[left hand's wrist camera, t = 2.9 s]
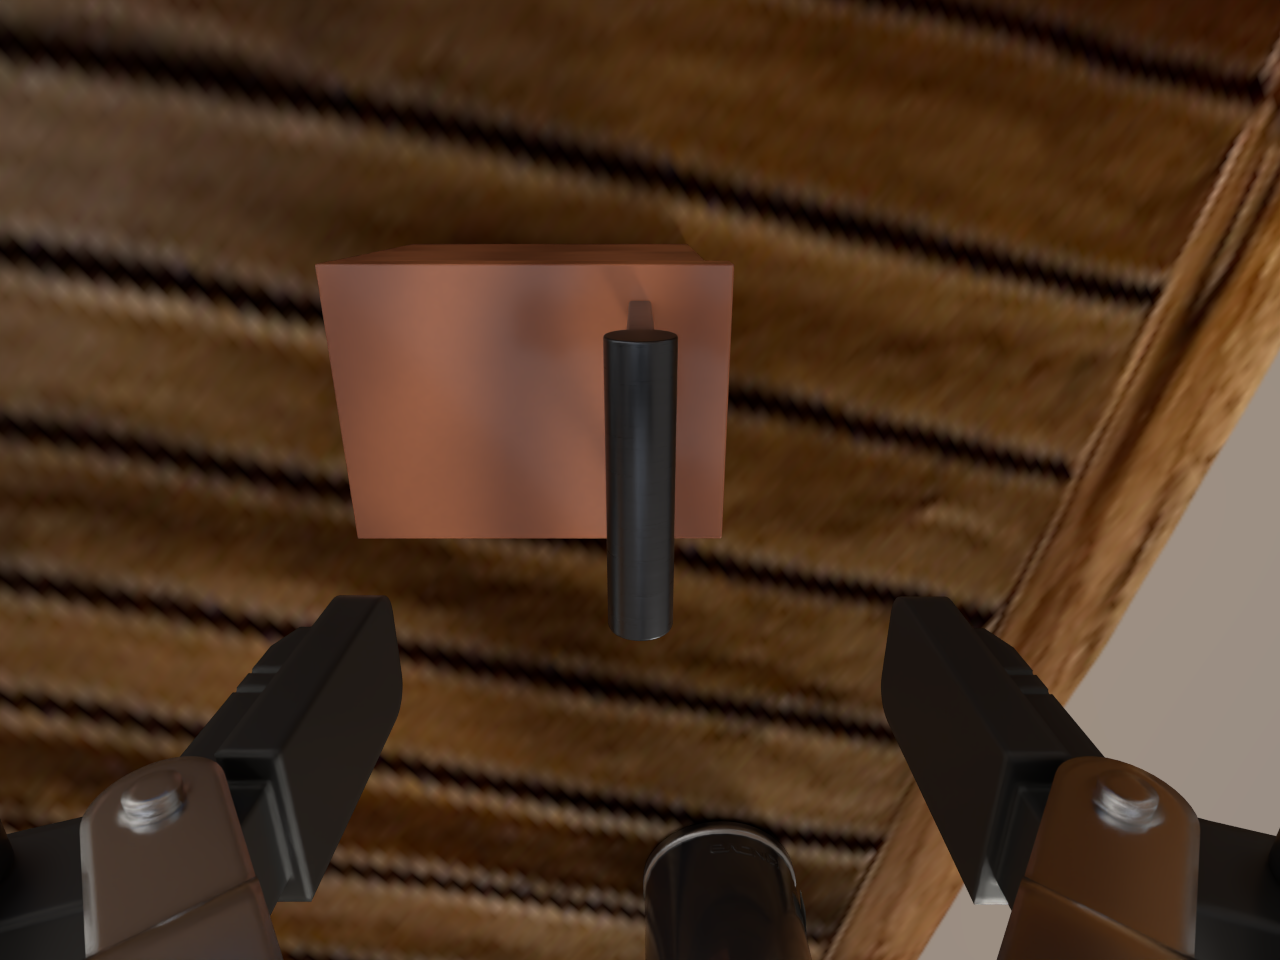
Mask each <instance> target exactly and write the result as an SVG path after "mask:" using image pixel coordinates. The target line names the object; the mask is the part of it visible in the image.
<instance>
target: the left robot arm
mask: <svg viewBox="0 0 1280 960" xmlns="http://www.w3.org/2000/svg"><path fill="white" fill-rule="evenodd" d="M1032 671H1033V670H1032V669H1031V668H1030V667H1029V666H1028V664H1027V663H1026V662H1025V661H1024V660H1023V658H1022V657H1021V656H1020V655H1019V654H1018V652H1017V651H1016V650H1015V649H1014V648H1013V647H1012V646H1010V645H1009V644H1007V643H1006V642H1004V641H1003V640H1001V639H1000V638H998V637H997V636H995V635H994V634H992V633H991V632H989V631H987V630H986V629H984V628H972V627H971V625H970V624H969V623H968V621H967V620H966V619H965V618H964V616H963V615H962V614H961V612H960V611H959V610H958V608H957V607H956V606H955V605H954V603H953V602H952V601H951V600H950V599H949V598H948V597H898V598H896V600H895V601H894V603H893V606H892V610H891V617H890V623H889V630H888V637H887V644H886V651H885V658H884V664H883V671H882V679H881V695H882V703H883V708H884V713H885V716H886V719H887V721H888V723H889V725H890V727H891V730H892V732H893V734H894V736H895V738H896V740H897V742H898V744H899V746H900V749H901V751H902V753H903V755H904V757H905V759H906V761H907V763H908V765H909V768H910V770H911V772H912V774H913V776H914V778H915V780H916V782H917V785H918V787H919V789H920V791H921V793H922V795H923V797H924V799H925V801H926V804H927V806H928V808H929V810H930V812H931V814H932V816H933V818H934V820H935V823H936V825H937V827H938V829H939V831H940V833H941V835H942V837H943V840H944V842H945V844H946V846H947V848H948V850H949V852H950V854H951V856H952V859H953V861H954V863H955V865H956V867H957V869H958V871H959V873H960V875H961V878H962V880H963V882H964V884H965V886H966V888H967V890H968V892H969V894H970V897H971V899H972V901H973V903H974V904H1008V905H1009V907H1010V908H1011V910H1012V912H1011V915H1010V918H1009V922H1008V925H1007V928H1006V931H1005V935H1004V938H1003V941H1002V944H1001V948H1000V951H999V954H998V957H997V960H1280V829H1279V831H1278V834H1277V836H1273V835H1269V834H1265V833H1260V832H1256V831H1251V830H1247V829H1243V828H1238V827H1234V826H1229V825H1225V824H1221V823H1217V822H1212V821H1208V820H1204V819H1201V818H1197V815H1196V814H1195V812H1194V810H1193V809H1192V807H1191V806H1190V805H1189V803H1188V802H1187V801H1186V800H1185V799H1184V798H1183V797H1182V796H1181V795H1180V794H1179V793H1178V792H1177V791H1176V790H1174V789H1173V788H1172V787H1171V786H1169V785H1168V784H1167V783H1165V782H1164V781H1162V780H1160V779H1159V778H1157V777H1156V776H1154V775H1152V774H1150V773H1148V772H1146V771H1144V770H1142V769H1140V768H1138V767H1135V766H1133V765H1130V764H1127V763H1124V762H1121V761H1118V760H1114V759H1110V758H1105V757H1104V756H1103V755H1102V754H1101V752H1100V751H1099V750H1098V749H1097V748H1096V746H1095V745H1094V744H1093V743H1092V741H1091V740H1090V739H1089V738H1088V737H1087V735H1086V734H1085V733H1084V732H1083V731H1082V729H1081V728H1080V727H1079V726H1078V725H1077V723H1076V722H1075V721H1074V720H1073V719H1072V717H1071V716H1070V715H1069V714H1068V713H1067V711H1066V710H1065V709H1064V708H1063V707H1062V705H1061V704H1060V703H1059V702H1058V701H1057V699H1056V698H1055V697H1054V696H1053V695H1052V694H1049V693H1048V688H1047V687H1046V686H1045V685H1044V684H1043V682H1042V681H1041V680H1040V679H1039V678H1038V676H1037V675H1033V673H1032ZM401 699H402V673H401V666H400V659H399V652H398V645H397V638H396V631H395V624H394V617H393V610H392V606H391V602H390V600H389V599H388V597H387V596H380V595H379V596H378V595H377V596H375V595H374V596H373V595H339V596H336V597H335V598H334V599H333V600H332V601H331V602H330V604H329V605H328V606H327V608H326V609H325V610H324V611H323V613H322V614H321V615H320V617H319V618H318V619H317V621H316V622H315V623H314V625H313V626H312V627H299V628H298V629H296V630H295V631H293V632H292V633H290V634H289V635H287V636H286V637H284V638H283V639H281V640H280V641H278V642H277V643H275V644H274V645H272V646H271V647H270V648H269V649H268V650H267V652H266V653H265V654H264V655H263V656H262V658H261V659H260V660H259V661H258V663H257V664H256V665H255V666H254V667H253V669H252V673H248V675H247V676H246V677H245V678H244V680H243V681H242V682H241V683H240V684H239V686H238V687H237V692H236V693H232V694H231V695H230V697H229V698H228V699H227V700H226V701H225V703H224V704H223V705H222V706H221V708H220V709H219V710H218V711H217V712H216V714H215V715H214V716H213V717H212V718H211V720H210V721H209V722H208V723H207V725H206V726H205V727H204V728H203V729H202V731H201V732H200V733H199V734H198V735H197V737H196V738H195V739H194V740H193V742H192V743H191V744H190V745H189V746H188V748H187V749H186V750H185V751H184V752H183V754H182V755H181V756H180V757H176V758H170V759H166V760H162V761H159V762H156V763H153V764H149V765H147V766H145V767H142V768H140V769H138V770H136V771H134V772H132V773H130V774H128V775H126V776H124V777H123V778H121V779H120V780H118V781H116V782H115V783H113V784H112V785H111V786H109V787H108V788H107V789H105V790H104V791H103V792H102V793H101V794H100V795H99V796H98V797H97V798H96V799H95V800H94V801H93V802H92V803H91V805H90V806H89V807H88V809H87V810H86V812H85V814H84V815H83V817H80V818H76V819H71V820H67V821H63V822H58V823H54V824H49V825H45V826H41V827H36V828H32V829H28V830H23V831H19V832H15V833H10V834H6V832H5V829H4V827H3V825H2V822H1V820H0V960H283V957H282V954H281V951H280V948H279V944H278V941H277V938H276V935H275V931H274V928H273V925H272V922H271V918H270V915H271V913H272V911H273V909H274V907H275V905H276V903H277V902H311V901H312V899H313V897H314V894H315V892H316V890H317V888H318V886H319V884H320V882H321V880H322V877H323V875H324V873H325V871H326V869H327V867H328V865H329V862H330V860H331V858H332V856H333V854H334V852H335V850H336V847H337V845H338V843H339V841H340V839H341V837H342V835H343V832H344V830H345V828H346V826H347V824H348V822H349V820H350V817H351V815H352V813H353V811H354V809H355V807H356V805H357V802H358V800H359V798H360V796H361V794H362V792H363V790H364V787H365V785H366V783H367V781H368V779H369V777H370V775H371V772H372V770H373V768H374V766H375V764H376V762H377V760H378V757H379V755H380V753H381V751H382V749H383V747H384V745H385V742H386V740H387V738H388V736H389V734H390V732H391V730H392V727H393V725H394V723H395V721H396V719H397V716H398V713H399V710H400V705H401ZM643 890H644V899H645V960H812V959H811V954H810V950H809V945H808V941H807V937H806V914H805V907H804V903H803V899H802V895H801V891H800V899H801V909H800V905H799V900H798V896H797V891H796V881H795V875H794V871H793V867H792V862H791V860H790V857H789V855H788V853H787V851H786V850H785V849H784V847H783V846H782V845H781V844H780V843H779V842H778V841H777V840H776V839H775V838H774V837H772V836H771V835H769V834H768V833H766V832H764V831H762V830H760V829H758V828H756V827H753V826H750V825H746V824H742V823H737V822H729V821H714V822H705V823H700V824H696V825H692V826H689V827H686V828H684V829H681V830H679V831H677V832H675V833H673V834H672V835H670V836H669V837H667V838H666V839H665V840H663V841H662V842H661V843H660V844H659V845H658V846H657V847H656V848H655V849H654V850H653V852H652V853H651V855H650V856H649V858H648V860H647V863H646V865H645V869H644V876H643Z"/></svg>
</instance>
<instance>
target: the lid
mask: <svg viewBox="0 0 1280 960" xmlns="http://www.w3.org/2000/svg"><path fill="white" fill-rule="evenodd" d="M315 268H316V274H317V280H318V287H319V293H320V299H321V306H322V312H323V319H324V325H325V331H326V338H327V344H328V350H329V357H330V363H331V369H332V376H333V382H334V389H335V395H336V401H337V408H338V414H339V420H340V427H341V433H342V440H343V446H344V452H345V459H346V465H347V471H348V478H349V484H350V490H351V497H352V503H353V510H354V516H355V522H356V529H357V535H358V538H607V578H608V624H609V627H610V629H611V630H612V632H614V633H615V634H616V635H618V636H620V637H622V638H625V639H629V640H635V641H646V640H652V639H656V638H659V637H661V636H663V635H665V634H666V633H667V632H669V630H670V629H671V627H672V624H673V578H674V538H721V537H722V519H723V497H724V476H725V454H726V432H727V410H728V388H729V366H730V344H731V322H732V300H733V278H734V264H732V263H731V262H729V261H328V262H324V263H319V264H316V265H315Z"/></svg>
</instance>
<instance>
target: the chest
mask: <svg viewBox="0 0 1280 960" xmlns="http://www.w3.org/2000/svg"><path fill="white" fill-rule="evenodd" d="M335 261H704V260H703V259H702V258H701V257H700V256H699V255H698V254H697V253H696V252H695V251H694V250H693V249H692V248H691V247H690V246H689V245H688V244H411V245H407V246H402V247H397V248H392V249H387V250H383V251H378V252H373V253H368V254H363V255H358V256H354V257H349V258H344V259H339V260H335Z"/></svg>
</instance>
